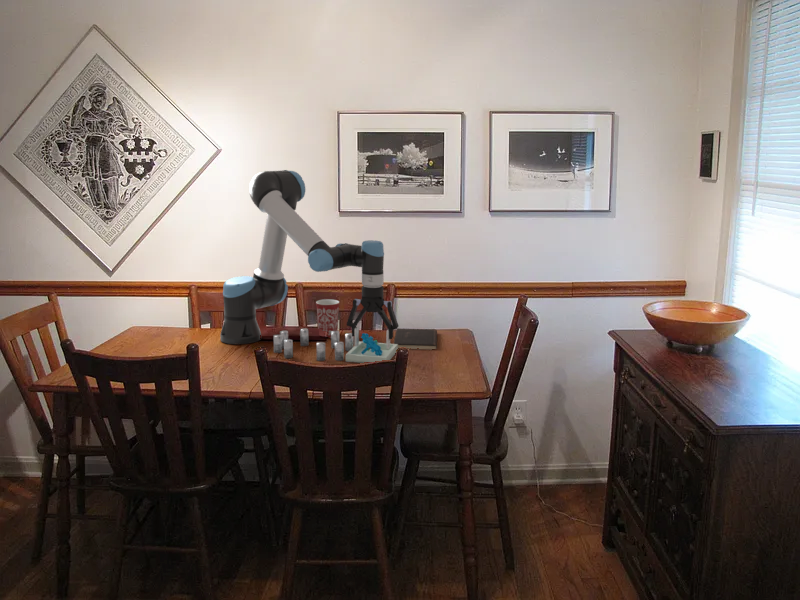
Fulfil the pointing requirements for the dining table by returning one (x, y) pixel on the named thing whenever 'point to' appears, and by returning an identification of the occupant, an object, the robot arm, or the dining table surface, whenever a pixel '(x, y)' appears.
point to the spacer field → (287, 344)
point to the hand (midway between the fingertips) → (372, 346)
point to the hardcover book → (416, 338)
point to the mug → (327, 315)
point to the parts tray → (370, 353)
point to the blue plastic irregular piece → (371, 345)
